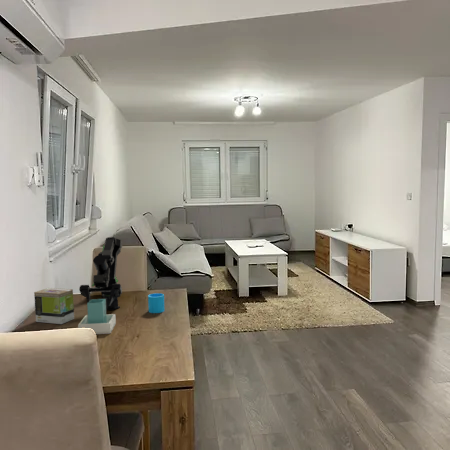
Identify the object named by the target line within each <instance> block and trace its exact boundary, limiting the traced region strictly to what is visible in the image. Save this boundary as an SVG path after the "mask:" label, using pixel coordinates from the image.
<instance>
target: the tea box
mask: <svg viewBox="0 0 450 450" xmlns="http://www.w3.org/2000/svg"><path fill="white" fill-rule="evenodd" d="M33 293H34V295H33V296H34V310H35V322H37V323H45V324H46V323H47V324H55V325H56V324H57V325H63V324H65V323H67V322H70V321H72V320H75V307H74V305H75V304H74V289H69V288H56V287H54V288H53V287H47V288H44V289H41V290H37V291H34V292H33Z"/></svg>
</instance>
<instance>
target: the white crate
mask: <svg viewBox="0 0 450 450" xmlns="http://www.w3.org/2000/svg"><path fill="white" fill-rule="evenodd" d="M106 321H107V323H95V324H88V314H86V315H85V316H84V317H83V318H82V319H81V321H80V322H79V323H78V325H77V329H78V328H82V327H85V328H92V329H93V330H94V331H95V332H96V334H95V335H106V334H110V335H111V334H112V332H113V331H114V328H115V326H116V324H117V320H116V313H111V314H110V313H109V314H107V313H106Z"/></svg>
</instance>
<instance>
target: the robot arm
mask: <svg viewBox="0 0 450 450" xmlns="http://www.w3.org/2000/svg"><path fill="white" fill-rule="evenodd" d="M122 248H123V241H122V240H121V239H118V238H117V237H114V236H113V237H112V236H111V237H110V236H109V237H106V238H105V240H104V249H103V248H102V249H103V251H100V252H99V253H98V254H97V255H96V256H94V258H93V265H94V268H95V270H96V274H94V275H93V278H92V279H93V280H92V282H94V286H90V285H89V284H81V285H80V286H79V293H80V295H81V296H83V297H84V298H86V303H88V302H89V301H90V300H91V299H92V297H91V296H92V295H91V293H97V292H99V293H100V295H101V294H102V295H101V299H106V311H113V310H117V309H119V308H121V306H119V299H118V298H120V297H121V295H122V294H123V289H122V288H123V287H122V284H121V283H118V282H116V280H115V276H116V275H117V265H118V264H117V262H118V257H119V254H120V253H121V251H122ZM116 277H117V276H116Z"/></svg>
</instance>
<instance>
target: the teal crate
mask: <svg viewBox="0 0 450 450" xmlns="http://www.w3.org/2000/svg"><path fill="white" fill-rule="evenodd" d="M86 303H87V302H86ZM86 306H87V315H88V324H95V323H107V321H106V315H107V309H106V299H105V298H97V299H92V298H90V301H89V302H88V303H87V304H86Z"/></svg>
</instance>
